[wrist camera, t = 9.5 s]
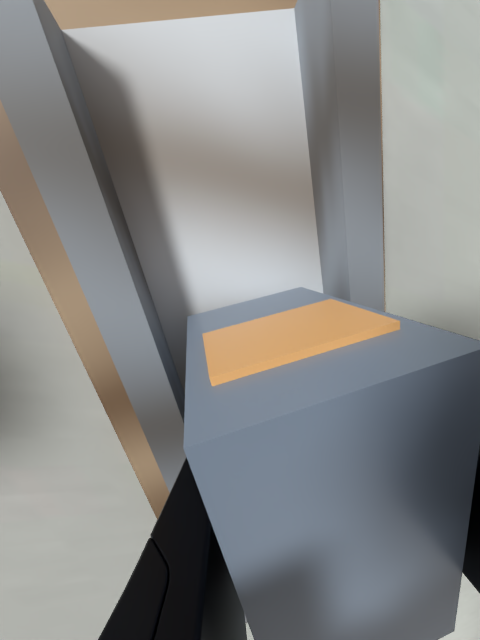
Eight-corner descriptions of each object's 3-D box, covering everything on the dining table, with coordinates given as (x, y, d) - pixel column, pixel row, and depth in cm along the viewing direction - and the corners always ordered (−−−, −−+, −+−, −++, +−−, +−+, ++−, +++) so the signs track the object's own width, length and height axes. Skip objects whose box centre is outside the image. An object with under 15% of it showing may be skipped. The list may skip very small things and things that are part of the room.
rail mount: (379, 514, 15) (419, 568, 13) (199, 589, 14) (201, 668, 11) (358, -49, 7) (453, -219, 5) (-80, -22, 6) (-309, -254, 3)
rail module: (321, 441, 10) (454, 631, 5) (234, 472, 10) (283, 719, 5) (300, 282, 8) (495, 334, 3) (186, 311, 8) (178, 437, 2)
